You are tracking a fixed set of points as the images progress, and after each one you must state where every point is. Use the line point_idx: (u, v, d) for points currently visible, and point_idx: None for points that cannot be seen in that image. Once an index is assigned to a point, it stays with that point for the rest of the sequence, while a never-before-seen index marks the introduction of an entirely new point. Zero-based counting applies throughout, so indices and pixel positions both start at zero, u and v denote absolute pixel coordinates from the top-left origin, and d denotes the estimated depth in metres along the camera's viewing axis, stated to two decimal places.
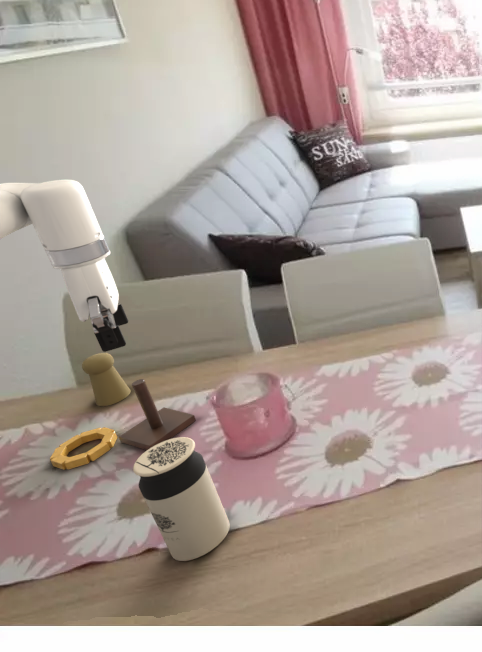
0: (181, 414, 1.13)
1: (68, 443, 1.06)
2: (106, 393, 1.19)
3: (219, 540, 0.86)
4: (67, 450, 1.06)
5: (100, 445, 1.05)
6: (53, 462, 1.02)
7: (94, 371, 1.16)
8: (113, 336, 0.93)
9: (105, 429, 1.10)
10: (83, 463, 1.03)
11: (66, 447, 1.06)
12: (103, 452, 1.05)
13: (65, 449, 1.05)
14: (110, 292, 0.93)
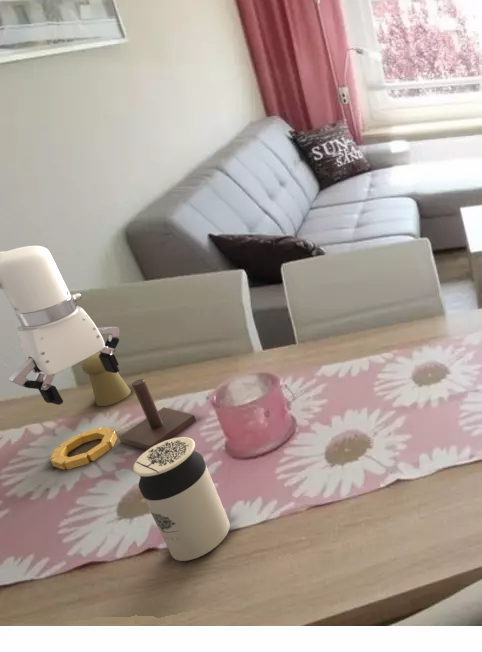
0: (181, 414, 1.13)
1: (68, 443, 1.06)
2: (106, 393, 1.19)
3: (219, 540, 0.86)
4: (67, 450, 1.06)
5: (100, 445, 1.05)
6: (53, 462, 1.02)
7: (94, 371, 1.16)
8: (45, 395, 0.99)
9: (105, 429, 1.10)
10: (83, 463, 1.03)
11: (66, 447, 1.06)
12: (103, 452, 1.05)
13: (65, 449, 1.05)
14: (48, 357, 0.98)
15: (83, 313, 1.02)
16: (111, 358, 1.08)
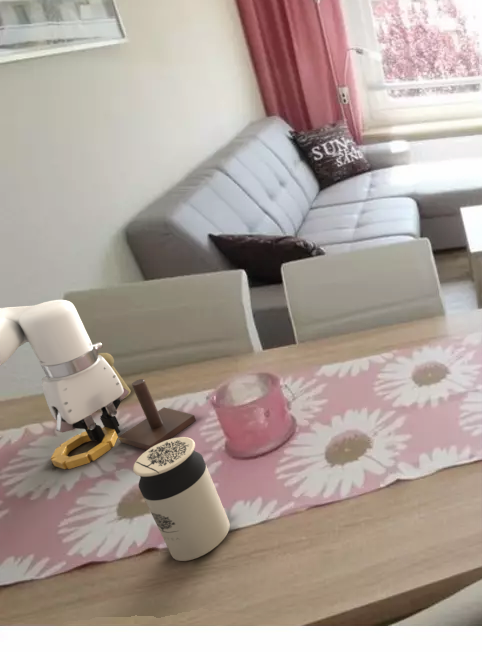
0: (181, 414, 1.13)
1: (68, 442, 1.06)
2: None
3: (219, 540, 0.86)
4: (68, 450, 1.06)
5: (100, 445, 1.05)
6: (54, 462, 1.02)
7: None
8: (91, 434, 1.07)
9: (106, 429, 1.10)
10: (83, 462, 1.03)
11: (67, 447, 1.06)
12: (104, 452, 1.05)
13: (66, 449, 1.05)
14: (71, 406, 1.02)
15: (104, 362, 1.06)
16: (112, 420, 1.09)
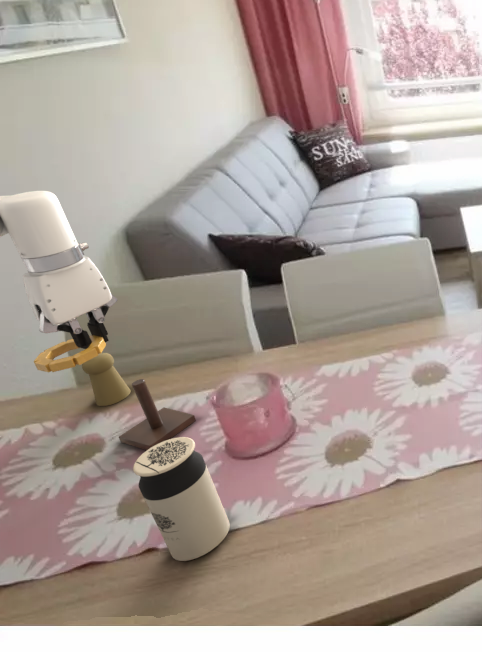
0: (181, 414, 1.13)
1: (53, 348, 1.00)
2: (106, 393, 1.19)
3: (219, 540, 0.86)
4: (52, 356, 1.00)
5: (87, 350, 0.99)
6: (37, 365, 0.96)
7: (94, 371, 1.16)
8: (77, 339, 1.00)
9: (93, 336, 1.04)
10: (68, 366, 0.97)
11: (51, 352, 1.00)
12: (90, 357, 0.99)
13: (50, 354, 0.99)
14: (55, 305, 0.96)
15: (90, 263, 1.00)
16: (100, 327, 1.03)
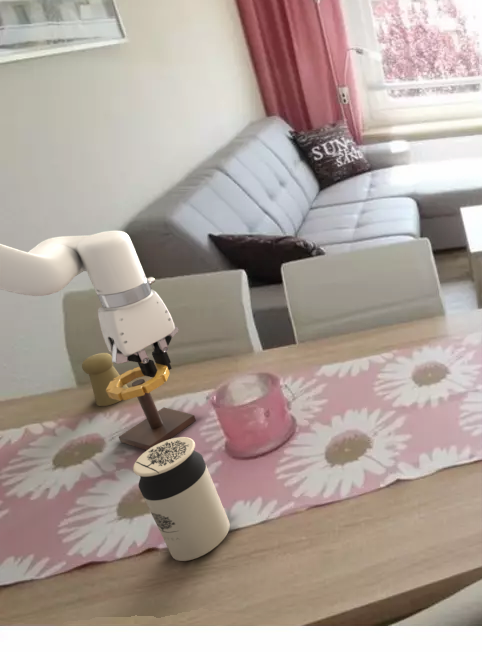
0: (181, 414, 1.13)
1: (122, 376, 1.07)
2: (106, 393, 1.19)
3: (219, 540, 0.86)
4: (121, 384, 1.06)
5: (154, 378, 1.05)
6: (109, 393, 1.02)
7: (94, 371, 1.16)
8: (144, 368, 1.07)
9: (157, 365, 1.10)
10: (138, 394, 1.03)
11: (120, 380, 1.06)
12: (157, 385, 1.05)
13: (120, 382, 1.05)
14: (127, 337, 1.02)
15: (157, 296, 1.06)
16: (164, 356, 1.09)
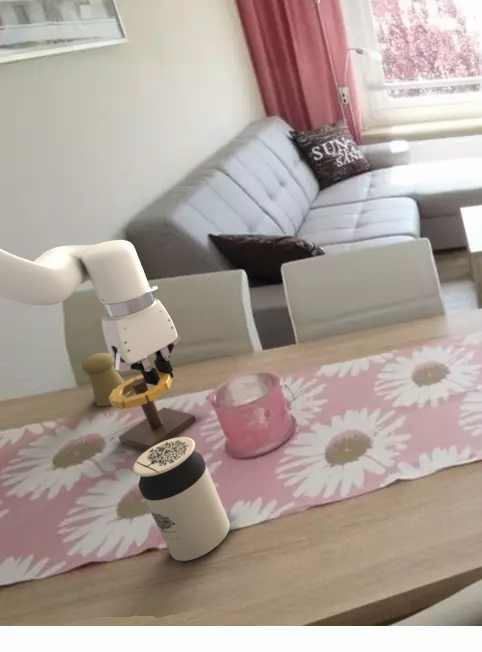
0: (181, 414, 1.13)
1: (124, 384, 1.07)
2: (106, 393, 1.19)
3: (219, 540, 0.86)
4: (124, 392, 1.07)
5: (157, 387, 1.06)
6: (112, 401, 1.03)
7: (94, 371, 1.16)
8: (147, 376, 1.07)
9: (160, 373, 1.10)
10: (141, 402, 1.04)
11: (123, 388, 1.06)
12: (160, 393, 1.06)
13: (122, 390, 1.06)
14: (130, 346, 1.02)
15: (160, 305, 1.07)
16: (166, 364, 1.10)
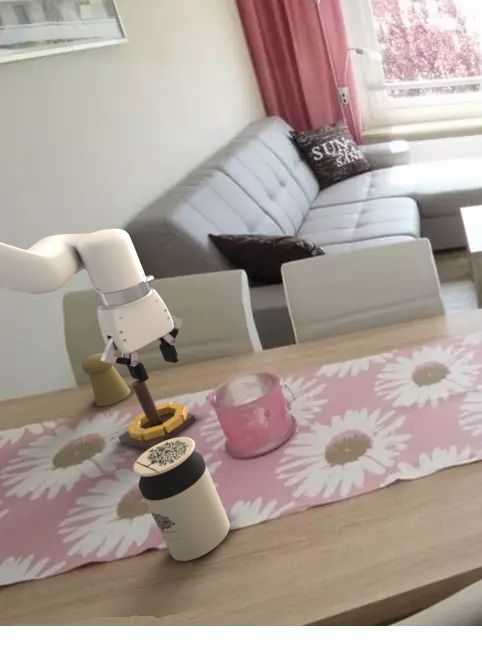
0: None
1: (142, 416, 1.11)
2: (106, 393, 1.19)
3: (219, 540, 0.86)
4: (142, 423, 1.10)
5: (173, 418, 1.10)
6: (131, 433, 1.06)
7: (94, 371, 1.16)
8: (133, 371, 1.05)
9: (176, 404, 1.14)
10: (159, 434, 1.07)
11: (141, 420, 1.10)
12: (177, 425, 1.10)
13: (140, 422, 1.10)
14: (126, 336, 1.02)
15: (156, 295, 1.06)
16: (171, 348, 1.10)
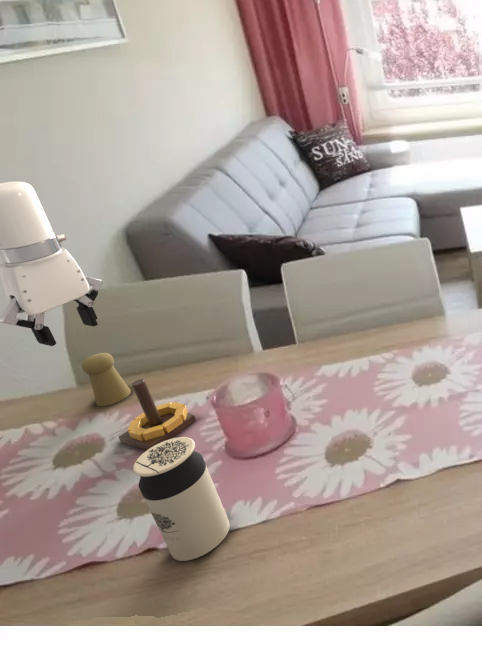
0: None
1: (142, 416, 1.11)
2: (106, 393, 1.19)
3: (219, 540, 0.86)
4: (142, 423, 1.10)
5: (173, 418, 1.10)
6: (131, 433, 1.06)
7: (94, 371, 1.16)
8: (39, 335, 0.98)
9: (176, 404, 1.14)
10: (159, 434, 1.07)
11: (141, 420, 1.10)
12: (177, 425, 1.10)
13: (140, 422, 1.10)
14: (31, 296, 0.96)
15: (67, 254, 1.00)
16: (89, 311, 1.05)
